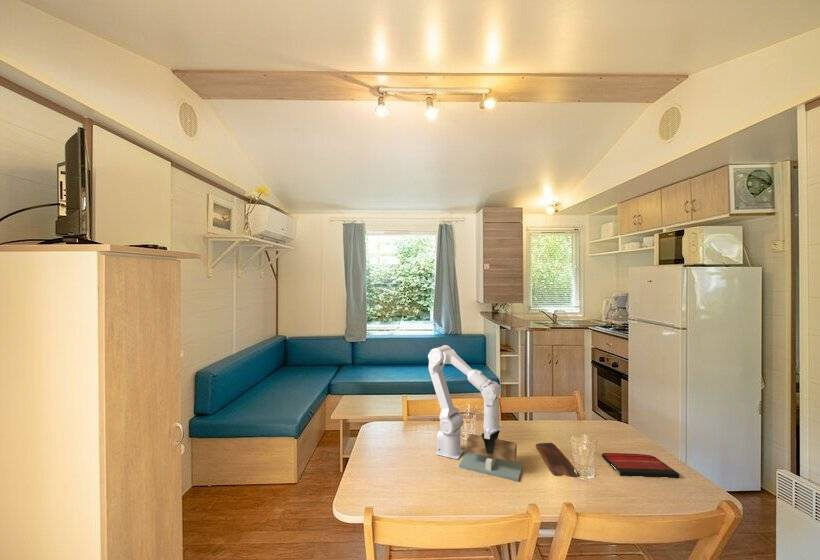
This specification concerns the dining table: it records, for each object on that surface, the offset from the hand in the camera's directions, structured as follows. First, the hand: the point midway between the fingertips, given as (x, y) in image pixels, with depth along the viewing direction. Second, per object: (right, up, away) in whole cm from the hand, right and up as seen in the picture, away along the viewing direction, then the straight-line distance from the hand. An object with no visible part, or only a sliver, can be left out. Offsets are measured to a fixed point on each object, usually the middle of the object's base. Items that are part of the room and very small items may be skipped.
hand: (491, 449), depth 137 cm
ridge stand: (0, -6, 0) cm, 6 cm away
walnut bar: (0, -2, 0) cm, 2 cm away
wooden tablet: (+27, -7, +6) cm, 29 cm away
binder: (+57, -7, +1) cm, 57 cm away
